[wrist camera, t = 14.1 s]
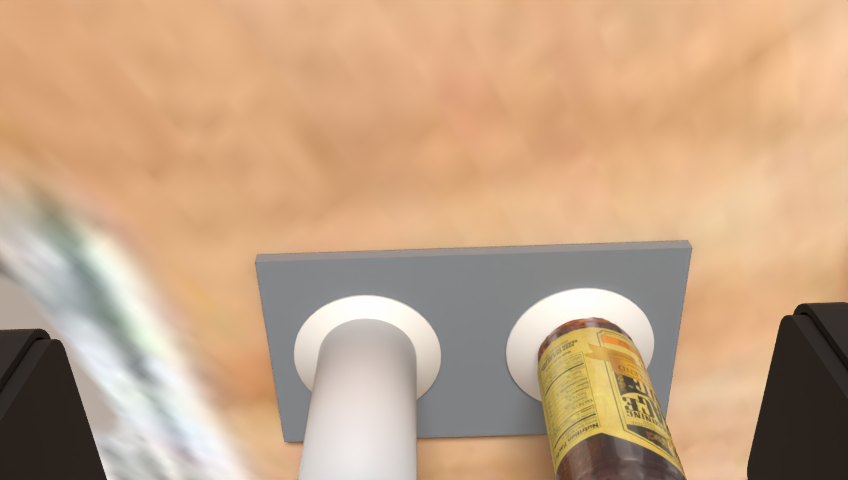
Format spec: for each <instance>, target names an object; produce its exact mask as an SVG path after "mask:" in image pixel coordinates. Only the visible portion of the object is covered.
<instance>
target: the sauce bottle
mask: <svg viewBox="0 0 848 480" xmlns="http://www.w3.org/2000/svg"><path fill="white" fill-rule="evenodd" d="M537 374H538V382H539V388H540V393H541V399H542V405H543V411H544V417H545V423H546V429H547V435H548V440H549V446H550V452H551V458H552V463H553V469H554V475H555V480H687V479H686V476H685V474H684V471H683V467H682V465H681V462H680V460H679V457H678V454H677V452H676V449H675V446H674V444H673V441H672V437H671V434H670V432H669V429H668V426H667V425H666V421H665V418H664V416H663V413H662V410H661V407H660V404H659V402H658V400H657V397H656V395H655V392H654V389H653V386H652V384H651V381H650V378H649V376H648V373H647V371H646V368H645V365H644V362H643V360H642V357H641V354H640V352H639V350H638V349H637V347H636V346H635V344H634V342H633V341H632V339H631V337H630V336H629V335H628V334H627V333H626V332H625V331H624V330H623V329H621V328H620V327H619V326H617V325H616V324H613V323H611V322H610V321H608V320H605V319H603V318H595V317H592V318H587V319H577V320H571V321H569V322H567V323H564V324H562V325H561V326H559V327H558V328H556V329H555V330H553V332H552V333H551V334H550V335H548V336H547V337H546V339H545V340H544V342H543V343H542V344H541V346H540V348H539V351H538V372H537Z"/></svg>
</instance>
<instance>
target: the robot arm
mask: <svg viewBox="0 0 848 480" xmlns="http://www.w3.org/2000/svg"><path fill="white" fill-rule="evenodd" d="M747 477H748V480H848V303H846V302H834V303H804V304H800V305H798V307H797V308H796V309H795V311H794V314H793V315H787V316H784V317H783V319H782V320H781V323H780V326H779V330H778V335H777V339H776V343H775V348H774V352H773V356H772V361H771V365H770V369H769V374H768V378H767V383H766V387H765V391H764V396H763V400H762V404H761V409H760V413H759V417H758V422H757V426H756V430H755V435H754V439H753V443H752V448H751V452H750V456H749V461H748V467H747ZM0 480H107V478H106V475H105V472H104V469H103V466H102V463H101V460H100V457H99V454H98V450H97V447H96V444H95V441H94V438H93V435H92V432H91V429H90V426H89V423H88V419H87V416H86V413H85V410H84V407H83V404H82V401H81V398H80V395H79V392H78V388H77V386H76V383H75V379H74V376H73V373H72V370H71V367H70V364H69V361H68V357H67V355H66V351H65V348H64V346H63V344H62V343H61V342H60V340H57V339H51V338H50V336H49V334H48V333H47V332H46V331H45V330H42V329H17V330H16V329H14V330H0Z"/></svg>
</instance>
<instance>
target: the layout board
mask: <svg viewBox="0 0 848 480" xmlns="http://www.w3.org/2000/svg"><path fill="white" fill-rule="evenodd" d="M691 252H692V246H691V245H690V243H689V241H688V240H687V241H656V242H626V243H596V244H566V245H535V246H505V247H475V248H444V249H414V250H384V251H353V252H323V253H293V254H263V255H257V257H256V260H255V265H256V271H257V277H258V283H259V290H260V296H261V302H262V308H263V314H264V320H265V326H266V333H267V339H268V345H269V351H270V357H271V363H272V369H273V376H274V382H275V388H276V394H277V400H278V406H279V412H280V419H281V425H282V431H283V437H284V442H303V441H304V444H303V450H302V456H301V462H300V468H299V474H298V480H417V438H433V437H465V436H498V435H530V434H547V429H546V423H545V417H544V411H543V405H542V399H541V393H540V388H539V382H538V374H537V372H538V351H539V348H540V346H541V344H542V343H543V342H544V340H545V339H546V337H547V336H548V335H550V334H551V333H552V332H553V330H555V329H556V328H558V327H559V326H561V325H562V324H564V323H567V322H569V321H571V320H577V319H587V318H592V317H595V318H603V319H605V320H608V321H610V322H611V323H613V324H616V325H617V326H619V327H620V328H621V329H623V330H624V331H625V332H626V333H627V334H628V335H629V336H630V337H631V339H632V341H633V342H634V344H635V346H636V347H637V349H638V350H639V352H640V354H641V357H642V360H643V362H644V365H645V368H646V371H647V373H648V376H649V378H650V381H651V384H652V386H653V389H654V392H655V395H656V397H657V400H658V402H659V404H660V407H661V410H662V413H663V416H664V418H665V420H666V414H667V407H668V401H669V394H670V388H671V381H672V375H673V368H674V362H675V355H676V349H677V343H678V336H679V330H680V323H681V317H682V310H683V304H684V297H685V291H686V284H687V278H688V271H689V265H690V258H691Z"/></svg>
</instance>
